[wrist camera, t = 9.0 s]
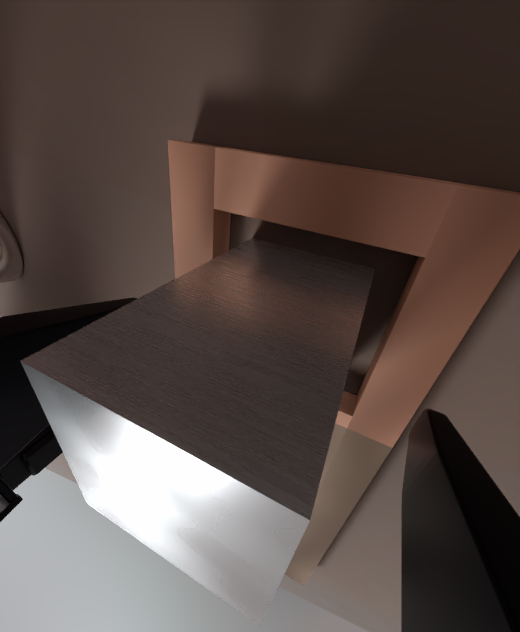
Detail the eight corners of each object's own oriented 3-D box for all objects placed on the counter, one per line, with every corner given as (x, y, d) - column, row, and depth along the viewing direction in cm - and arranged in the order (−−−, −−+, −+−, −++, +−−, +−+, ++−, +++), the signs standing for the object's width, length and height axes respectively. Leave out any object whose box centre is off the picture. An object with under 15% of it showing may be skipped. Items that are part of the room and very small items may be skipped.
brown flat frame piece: (196, 499, 24) (188, 513, 23) (190, 141, 10) (167, 139, 9) (308, 566, 21) (303, 585, 20) (530, 193, 7) (551, 200, 6)
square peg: (243, 333, 13) (87, 503, 7) (252, 238, 10) (20, 361, 4) (338, 369, 12) (259, 625, 5) (375, 268, 9) (310, 520, 3)
